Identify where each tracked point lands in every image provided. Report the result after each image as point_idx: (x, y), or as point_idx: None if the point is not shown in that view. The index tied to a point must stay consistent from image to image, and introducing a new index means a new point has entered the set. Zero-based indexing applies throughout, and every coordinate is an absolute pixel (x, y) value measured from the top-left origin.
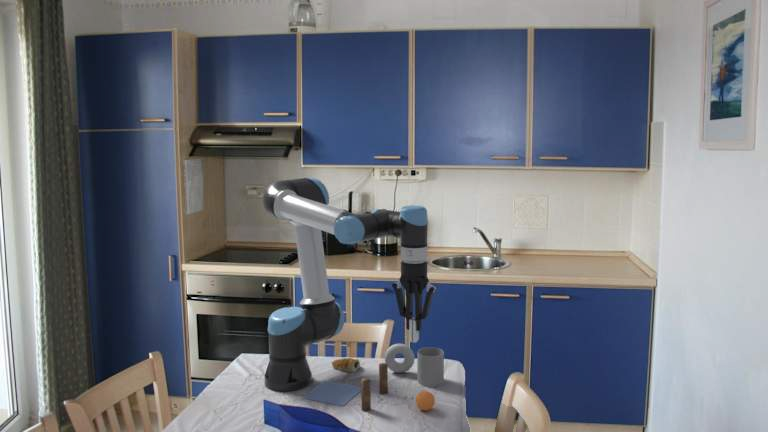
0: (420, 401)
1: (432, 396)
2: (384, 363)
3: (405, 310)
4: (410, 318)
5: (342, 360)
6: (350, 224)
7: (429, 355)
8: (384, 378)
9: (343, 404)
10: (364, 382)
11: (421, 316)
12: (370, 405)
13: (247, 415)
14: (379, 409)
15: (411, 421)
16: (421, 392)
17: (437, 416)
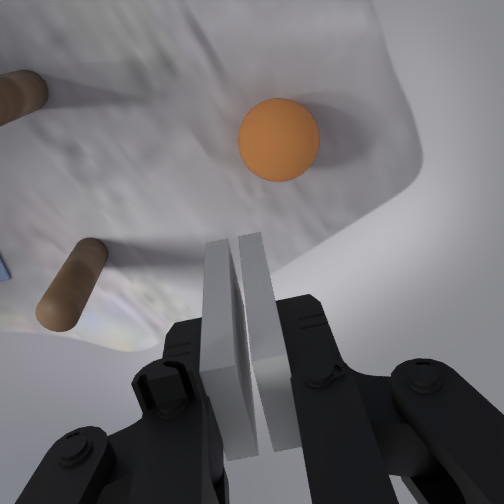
0: (278, 181)
1: (314, 137)
2: None
3: (94, 497)
4: (222, 445)
5: None
6: None
7: None
8: (17, 114)
9: (2, 274)
10: (69, 328)
11: (401, 477)
12: (102, 252)
13: None
14: (130, 227)
15: (279, 237)
16: (268, 158)
17: (340, 154)
